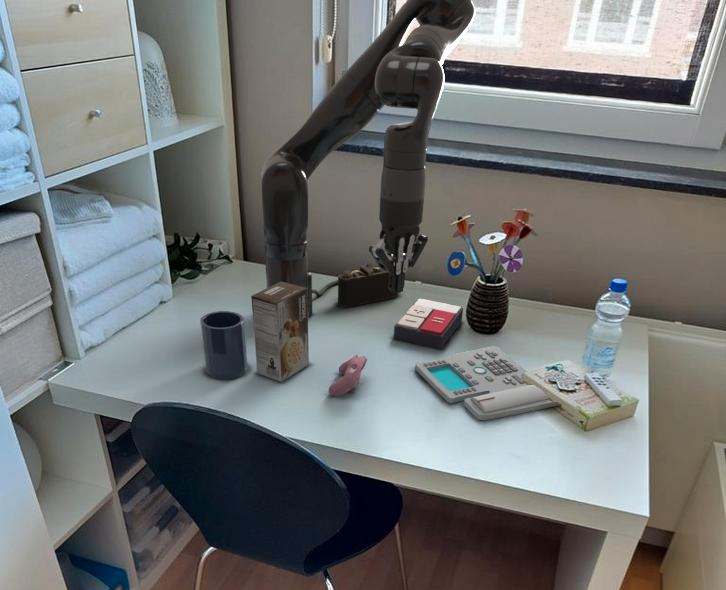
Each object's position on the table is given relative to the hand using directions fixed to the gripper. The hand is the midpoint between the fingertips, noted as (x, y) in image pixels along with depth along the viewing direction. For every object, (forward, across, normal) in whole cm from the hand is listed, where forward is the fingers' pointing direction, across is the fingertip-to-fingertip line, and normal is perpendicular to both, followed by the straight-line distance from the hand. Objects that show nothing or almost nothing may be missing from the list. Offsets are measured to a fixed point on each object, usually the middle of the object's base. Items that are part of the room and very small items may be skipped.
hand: (396, 291), depth 126 cm
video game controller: (+16, -11, 0) cm, 20 cm away
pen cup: (+16, -26, +20) cm, 36 cm away
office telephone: (+16, +10, -16) cm, 25 cm away
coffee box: (+16, -17, +13) cm, 27 cm away
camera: (+16, +20, +30) cm, 39 cm away
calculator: (+16, +19, +8) cm, 26 cm away
